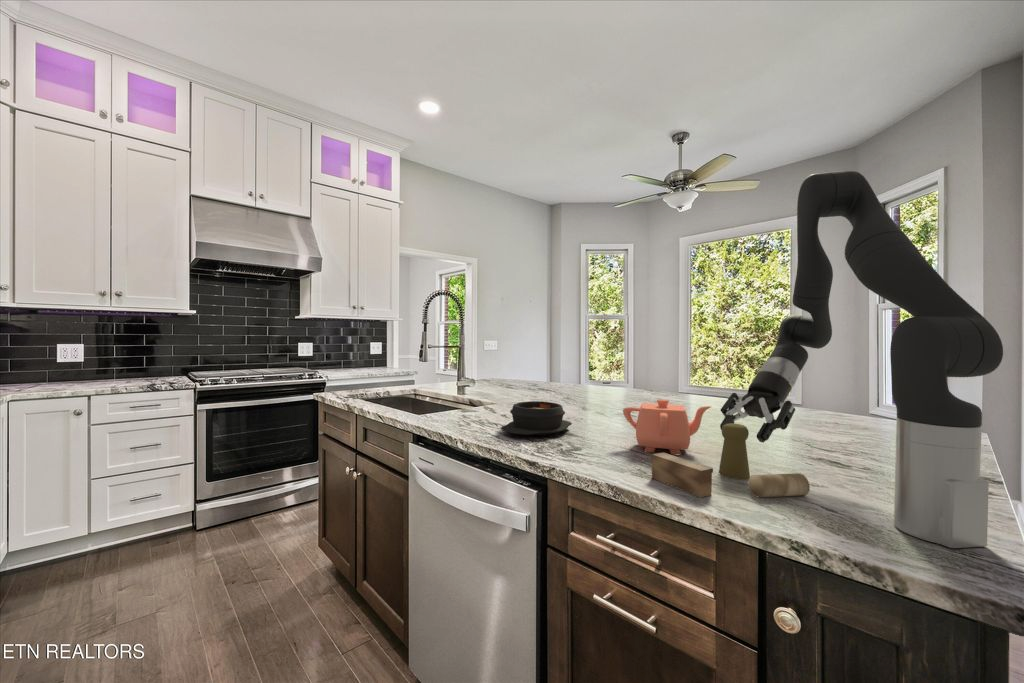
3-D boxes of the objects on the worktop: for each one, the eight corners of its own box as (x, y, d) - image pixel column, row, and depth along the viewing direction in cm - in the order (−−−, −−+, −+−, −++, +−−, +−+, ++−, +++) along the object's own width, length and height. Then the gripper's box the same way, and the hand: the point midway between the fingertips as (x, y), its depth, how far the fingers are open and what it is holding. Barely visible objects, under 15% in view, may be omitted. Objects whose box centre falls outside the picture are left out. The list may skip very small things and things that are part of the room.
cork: (754, 480, 89) (755, 427, 89) (722, 478, 90) (724, 426, 90) (744, 471, 95) (745, 422, 95) (715, 469, 96) (716, 420, 96)
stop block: (712, 494, 81) (713, 468, 81) (700, 497, 79) (701, 470, 79) (663, 475, 91) (663, 452, 91) (651, 478, 90) (652, 454, 90)
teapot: (619, 446, 116) (620, 397, 116) (659, 439, 124) (660, 394, 124) (670, 462, 102) (671, 407, 101) (711, 453, 110) (712, 402, 109)
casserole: (540, 421, 147) (541, 397, 147) (585, 430, 134) (586, 404, 134) (486, 433, 129) (487, 405, 129) (532, 444, 116) (533, 413, 116)
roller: (799, 498, 82) (789, 477, 85) (813, 491, 79) (802, 470, 81) (754, 500, 81) (745, 479, 83) (766, 492, 78) (757, 471, 80)
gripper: (738, 367, 104) (704, 418, 99) (800, 372, 91) (765, 431, 86) (751, 388, 106) (719, 439, 101) (813, 396, 94) (780, 454, 88)
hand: (740, 435), depth 94 cm, fingers open, 8 cm apart
